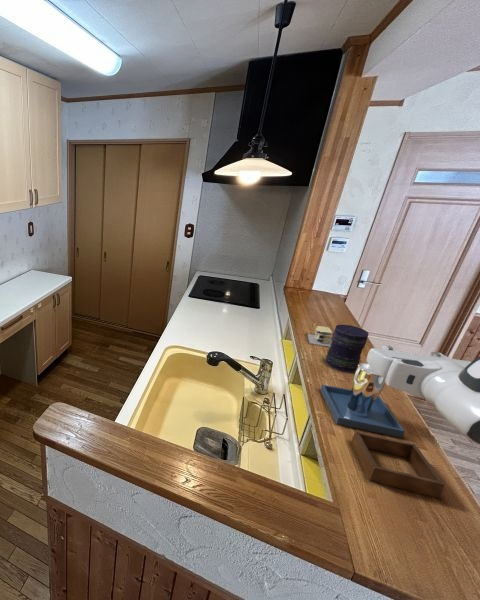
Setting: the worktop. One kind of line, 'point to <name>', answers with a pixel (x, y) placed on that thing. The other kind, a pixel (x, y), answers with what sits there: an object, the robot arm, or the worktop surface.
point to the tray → (376, 422)
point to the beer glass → (364, 390)
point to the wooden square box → (423, 484)
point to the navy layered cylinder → (346, 348)
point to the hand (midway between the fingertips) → (409, 351)
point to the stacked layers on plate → (321, 336)
